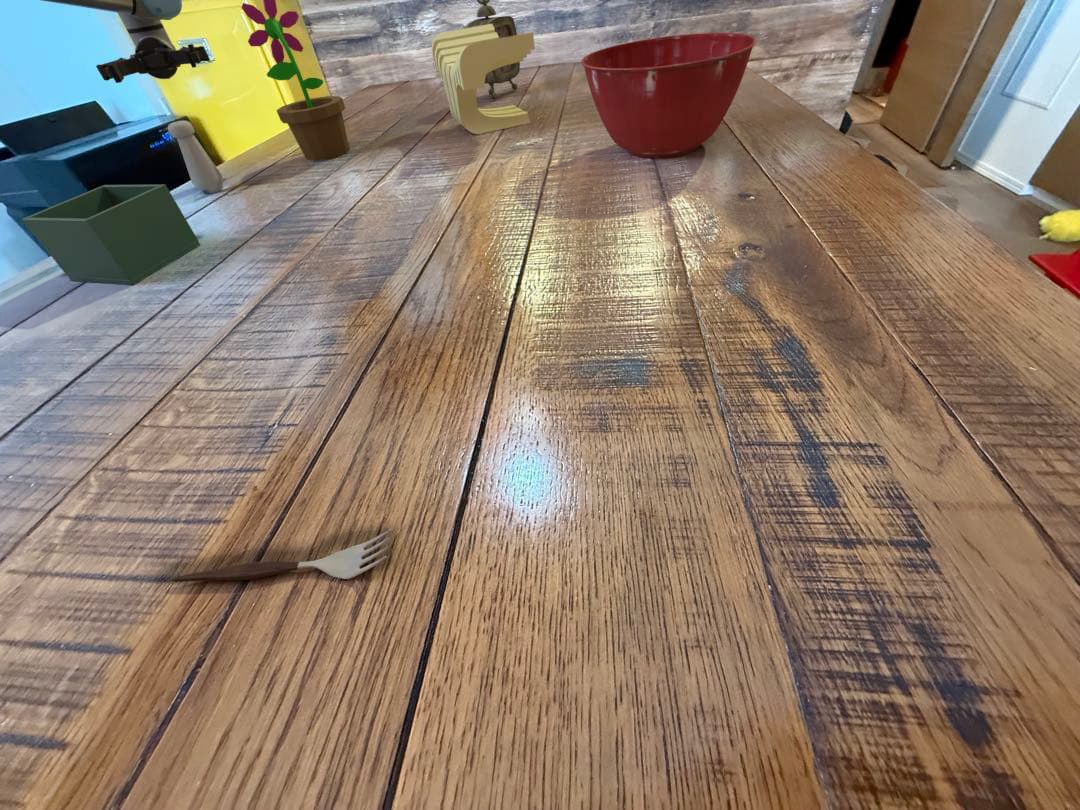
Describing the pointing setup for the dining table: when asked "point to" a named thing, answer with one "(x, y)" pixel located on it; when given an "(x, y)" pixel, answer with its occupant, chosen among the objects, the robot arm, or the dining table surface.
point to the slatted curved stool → (478, 73)
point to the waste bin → (114, 233)
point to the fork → (298, 565)
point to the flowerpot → (311, 118)
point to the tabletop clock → (503, 29)
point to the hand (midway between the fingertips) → (153, 66)
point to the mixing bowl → (667, 89)
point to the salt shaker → (196, 158)
